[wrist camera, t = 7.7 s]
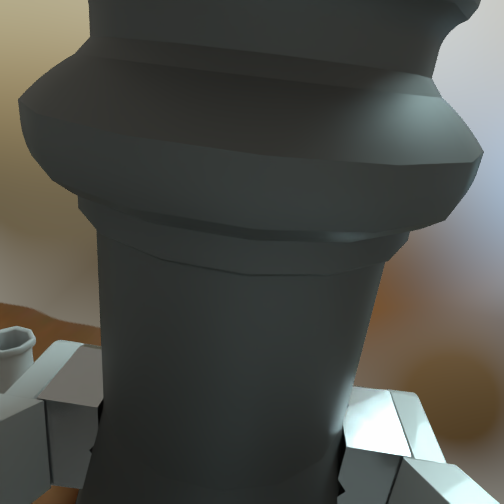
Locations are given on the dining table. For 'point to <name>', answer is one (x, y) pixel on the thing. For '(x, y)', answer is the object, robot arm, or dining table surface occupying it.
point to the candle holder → (244, 224)
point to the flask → (14, 354)
